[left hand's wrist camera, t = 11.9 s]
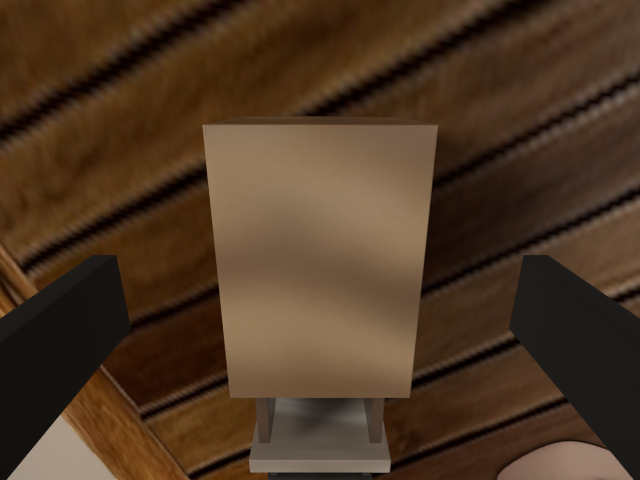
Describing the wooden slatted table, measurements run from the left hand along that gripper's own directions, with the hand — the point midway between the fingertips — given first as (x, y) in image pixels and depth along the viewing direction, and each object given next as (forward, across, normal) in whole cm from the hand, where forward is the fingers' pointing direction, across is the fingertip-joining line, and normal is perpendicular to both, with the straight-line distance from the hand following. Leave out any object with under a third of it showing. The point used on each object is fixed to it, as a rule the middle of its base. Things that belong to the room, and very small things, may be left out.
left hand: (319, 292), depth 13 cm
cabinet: (+17, 0, -3) cm, 17 cm away
